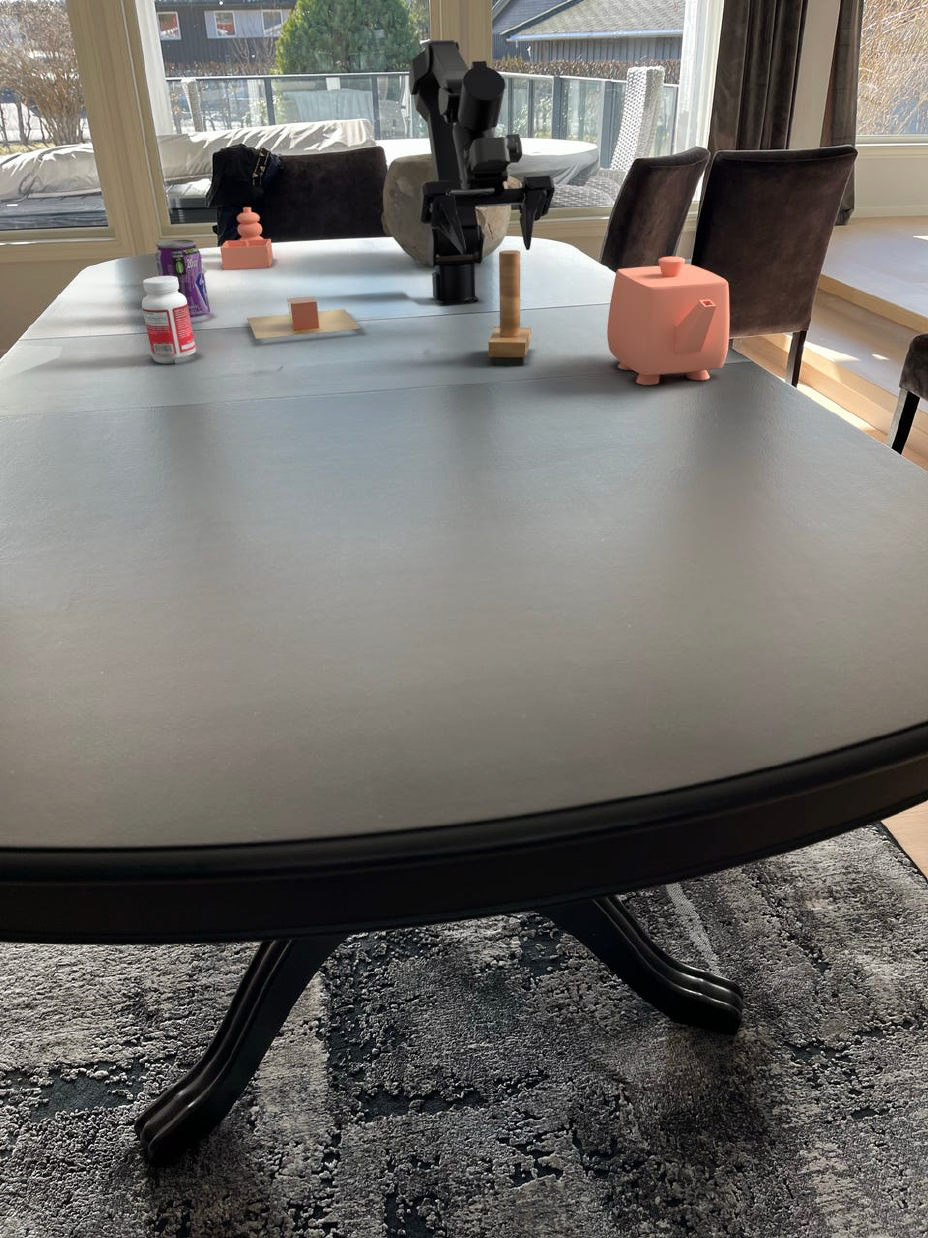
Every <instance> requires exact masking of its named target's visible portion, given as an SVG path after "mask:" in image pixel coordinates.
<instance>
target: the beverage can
mask: <svg viewBox="0 0 928 1238" xmlns="http://www.w3.org/2000/svg"><path fill="white" fill-rule="evenodd" d="M196 243H197V242H196V240H195V239H188V238H187V239H186V238H185V239H182V238H181V239H168V240H162V241H160V242H159V241H158V242H157V243H155V245H156V248H157V249H156V252H155V261H156V267H157V272H158V277H159V276H175V277H177V279H178V283H179V289H178V292H179V293H181V294H183V295H184V296H185V298H186V300H187V304H188V309H189V315H190V319H191V318H196V317H202V316H205V315H208V314H209V313H210V312H211V309H210V302H209V297H208V291H207V285H206V279H205V273H204V272H203V270H204V267H203V261H202V254H201V251H200V250H199V248H198V246H197V245H196Z"/></svg>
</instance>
